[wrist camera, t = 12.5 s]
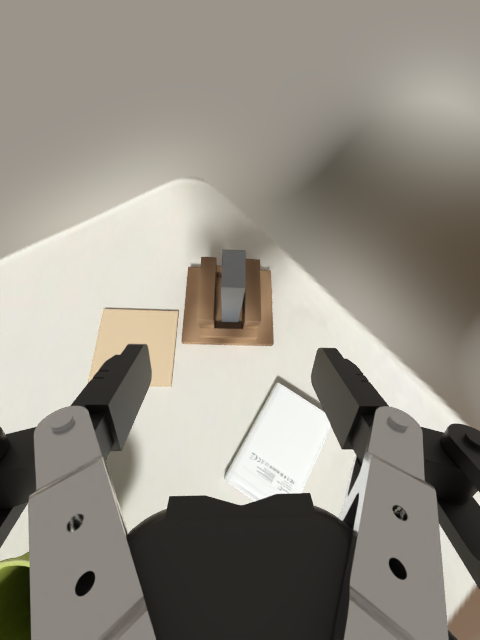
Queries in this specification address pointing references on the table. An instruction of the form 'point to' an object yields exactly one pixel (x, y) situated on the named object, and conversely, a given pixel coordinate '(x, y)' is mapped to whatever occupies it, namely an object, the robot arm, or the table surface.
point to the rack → (207, 307)
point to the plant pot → (15, 598)
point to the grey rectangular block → (232, 284)
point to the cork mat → (138, 339)
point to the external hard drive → (279, 446)
